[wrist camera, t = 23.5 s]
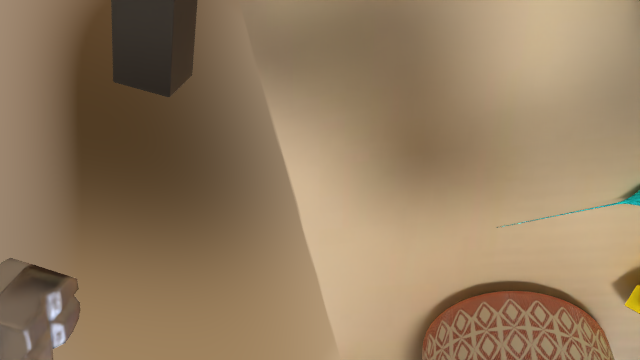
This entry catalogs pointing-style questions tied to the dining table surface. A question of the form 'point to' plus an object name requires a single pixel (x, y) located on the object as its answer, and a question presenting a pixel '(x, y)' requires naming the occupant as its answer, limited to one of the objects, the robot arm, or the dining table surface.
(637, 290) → the crumpled paper
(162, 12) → the block with square stub
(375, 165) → the dining table surface
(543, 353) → the planter
